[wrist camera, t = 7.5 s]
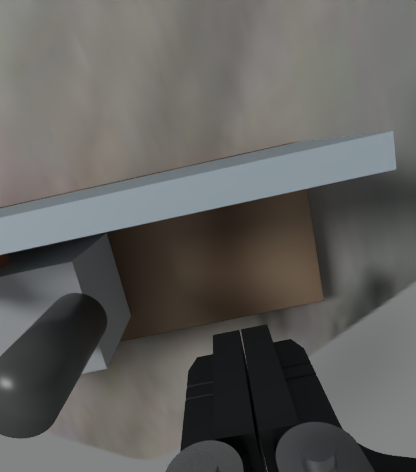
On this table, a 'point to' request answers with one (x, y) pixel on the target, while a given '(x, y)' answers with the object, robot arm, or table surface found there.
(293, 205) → the base
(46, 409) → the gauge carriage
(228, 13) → the table surface
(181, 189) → the board
